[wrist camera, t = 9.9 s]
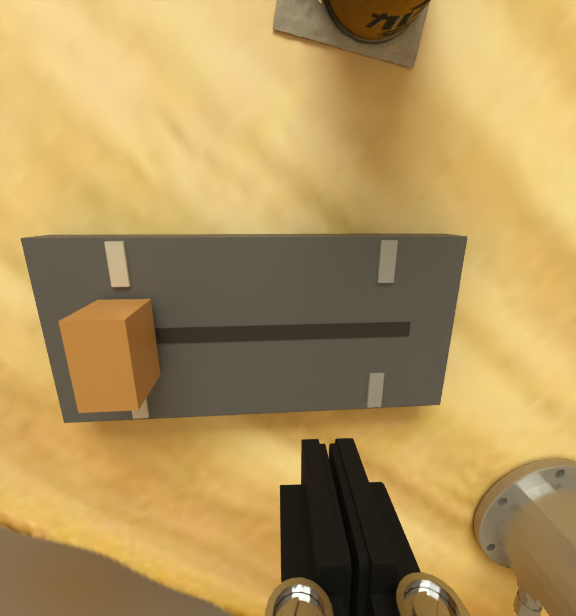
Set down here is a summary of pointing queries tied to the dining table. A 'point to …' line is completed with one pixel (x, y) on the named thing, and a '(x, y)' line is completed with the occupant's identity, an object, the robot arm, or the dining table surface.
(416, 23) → the condiment
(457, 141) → the dining table surface
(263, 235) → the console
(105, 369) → the fader tab
